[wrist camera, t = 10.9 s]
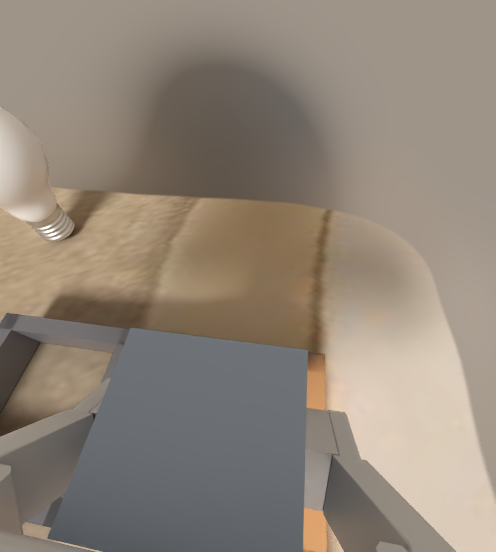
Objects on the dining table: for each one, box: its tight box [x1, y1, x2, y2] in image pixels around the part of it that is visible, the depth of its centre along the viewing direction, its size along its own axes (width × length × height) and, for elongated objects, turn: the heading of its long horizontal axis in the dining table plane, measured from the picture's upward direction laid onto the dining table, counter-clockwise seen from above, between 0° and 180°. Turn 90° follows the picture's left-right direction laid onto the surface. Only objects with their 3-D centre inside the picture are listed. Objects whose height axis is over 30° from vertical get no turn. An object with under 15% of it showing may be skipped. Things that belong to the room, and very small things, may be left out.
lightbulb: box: [0, 107, 74, 242], centre depth 19 cm, size 6×6×11 cm
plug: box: [48, 328, 308, 552], centre depth 9 cm, size 4×4×8 cm
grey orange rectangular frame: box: [0, 313, 327, 552], centre depth 14 cm, size 20×9×3 cm, turn 82°
